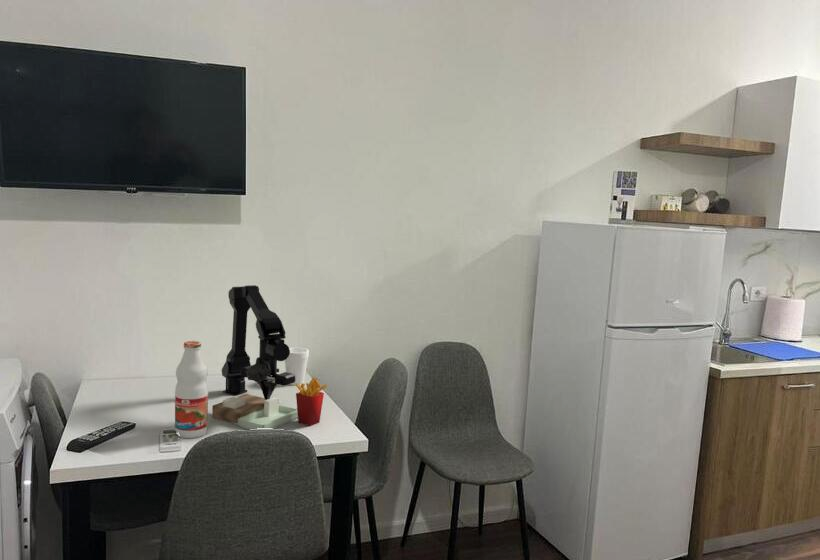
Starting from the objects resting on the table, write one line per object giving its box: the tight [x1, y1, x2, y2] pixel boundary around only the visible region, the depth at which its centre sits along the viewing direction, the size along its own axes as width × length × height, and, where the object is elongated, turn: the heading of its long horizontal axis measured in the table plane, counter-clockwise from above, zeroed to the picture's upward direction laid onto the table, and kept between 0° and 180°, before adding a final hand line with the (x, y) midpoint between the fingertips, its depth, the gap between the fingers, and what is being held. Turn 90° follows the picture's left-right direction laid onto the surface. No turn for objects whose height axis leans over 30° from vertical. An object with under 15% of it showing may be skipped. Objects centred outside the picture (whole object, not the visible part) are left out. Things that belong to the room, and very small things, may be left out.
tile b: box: [222, 395, 245, 409], centre depth 215 cm, size 5×5×2 cm
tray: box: [237, 403, 298, 430], centre depth 214 cm, size 11×19×2 cm, turn 153°
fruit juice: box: [174, 340, 209, 439], centre depth 198 cm, size 9×9×28 cm
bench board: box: [211, 393, 265, 425], centre depth 219 cm, size 12×16×4 cm
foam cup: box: [284, 347, 310, 386], centre depth 258 cm, size 10×9×13 cm
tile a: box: [264, 396, 280, 417], centre depth 219 cm, size 5×5×2 cm
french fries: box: [295, 377, 328, 427], centre depth 214 cm, size 9×8×15 cm
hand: (267, 400), depth 219 cm, fingers closed
